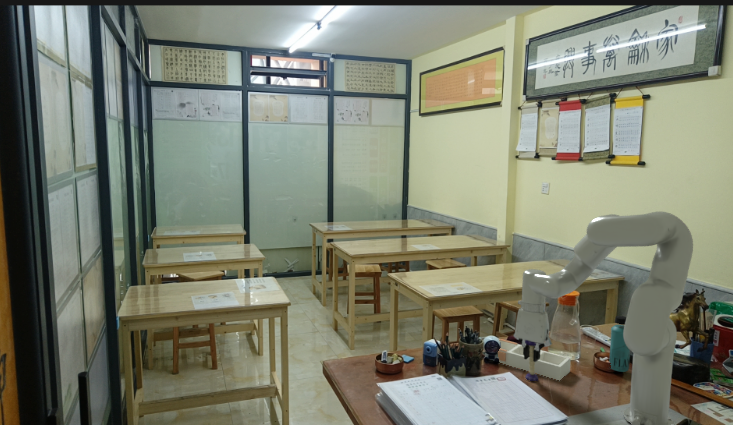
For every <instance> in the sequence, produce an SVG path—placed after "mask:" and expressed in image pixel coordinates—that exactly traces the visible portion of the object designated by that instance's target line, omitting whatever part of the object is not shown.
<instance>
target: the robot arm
mask: <svg viewBox="0 0 733 425" xmlns="http://www.w3.org/2000/svg"><path fill="white" fill-rule="evenodd" d="M655 245H656V250H655V254H654V255H653V259H652V260H651V261H652V263H651V266H650V267H651V268H650V270H649V271H650V272H649V273H648V274H649V275H648V277H647V280H646V281H644V282H643V283H641V284H639V285H638V286H637V287H636V288H635V290H634V291H633V292H632V295H631V298H630V301H629V302H630V303H629V307H628V310H627V314H626V317H627V318H626V322H625V325H624V333H623V336H624V341H625V343H626V345H627V347H628V348H629V349H630V352H632V353H633V355H632V368H631V381H630V382H631V383H630V397H629V398H630V399H629V400H630V401H629V407H626V408H625V409H624V410H623V414H622V415H624V417H625V419H627V420H628V421H630V422H631V423H632V424H633V425H671V424H674V423H675V422H674V420H673V419H672V418H671V417H670V416H669V414H670V413H669V412H670V400H671V399H670V398H671V388H672V387H671V386H672V385H671V384H672V374H673V363H674V355H675V354H674V353H675V349H676V342H677V337H678V336H677V327H676V325H675V322H674V321H673V320H672V319H671V317H670V316H671V315H672V314H671V313H672V312H674V311H675V310H677V309H678V307H680V306H681V303H682V301H683V296H684V291H685V287H686V283H687V280H688V276H689V275H688V274H689V271H690V270H689V269H690V265H691V262H692V261H691V260H692V258H693V251H694V239H693V235H692V233H691V230H690V229H689V227H688V225H687V224H686V223H685V222H684V221H683V220H682V219H680V218H679V217H678V216H676V215H674V214H673V213H669V212H667V211H653V212H648V213H645V214H644V213H643V214H633V215H632V214H631V215H619V214H612V213H611V214H605V215H599V216H597V217H595V218H593V219H592V220H590V222H589V223H588V225H587V226H586V234H585V235H584V236H582V238H581V239H580V240H579V241H578V242H577V243H576V244H575V245H574V247H573V251H574V255H573V257H572V259H571V260H570V261H569V263H566V265H565V266H564V267H563V268H562V269H561V270H559V271H557V272H554V273H550V274H547V273H546V272H545V271H544V270H540V269H533V268H532V269H530V268H529V269H526V270H525V269H524V271H523V273H522V282H521V283H522V287H521V288H522V289H521V299H520V300H518V301H517V304H518V305H520V308H519V309H518V312H517V316H516V321H515V322H516V323H515V332H514V333H513V337H514V339H516V340H518V342H519V343H520V345H522V347H523V355H524V359H527V358H529V357H530V356H529V353H530V351H529V349H530V347H529V345H527V344H526V343H525V340H527V341H531V342H535V343H536V346H535V350H534V354H533V361H534V362H536V361H538V360H539V359H540V350H542V349H543V348H546V347H550V346H551V345H552V340H551V338H550V324H549V317H548V316H549V315H548V311H546V300H547V298H548V299H554V300H555V299H559V298H561V297H563V296H565V295H569V294H571V293H573V292H574V291H576V289H578V288H579V287H580V286H581V285H582V284H583V283H584V282H585V281H586V280H588V278H589V277H590V276H591V275H592V273H594V271H595V270H596V269H597V267H598V266H599V265H600V264H601V262H603V261H604V260H605V259H606V258H607V257H608V256H610V254H611V253H612V252H614V250H616V249H617V248H622V247H624V248H625V247H628V248H629V247H636V248H637V247H650V246H651V247H652V246H655ZM624 417H623V418H624ZM625 419H624V420H625Z"/></svg>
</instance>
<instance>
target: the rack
mask: <svg viewBox="0 0 733 425" xmlns="http://www.w3.org/2000/svg"><path fill="white" fill-rule="evenodd" d="M498 339H499V341H500V342H501V348H500V349H499V351H498V357H499V362H500V363H503V364H502V365H504V364H506V365H505V366H507V365H509V366H508V367H510V366H512V367H511V368H514V367H516V368H515V369H517V368H520V369H519V370H521V369H523V370H522V371H524V370H526V371H525V372H527V371H529V370H530V369H529V366H530V364H529V361H530V360H529V358H527V359H524V355H523V347H522V344H519V343H517V342H514V341H510V340H507V339H502V338H498ZM534 349H535V348H534ZM571 361H572V360H571V357H568V356H565V355H561V354H556V353H553V352H549V351H545V350H542V349H540V359H539V360H538V361H536V362H535V365H534V366H535V369H534V371H535V373H537V374H540V375H539V376H541V375H543V376H542V377H544V376H546V377H545V378H547V377H549V378H548V379H551V378H553V379H552V380H554V379H556V380H555V381H557V380H559V381H558V382H561V381H562V380H563V379H564V378H565V377H566V376H567V375H568V374H569V373H570V372H571ZM500 363H499V364H500ZM537 374H536V375H537ZM564 376H565V377H564ZM563 377H564V378H563ZM562 378H563V379H562ZM561 379H562V380H561ZM560 380H561V381H560Z"/></svg>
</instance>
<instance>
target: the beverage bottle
mask: <svg viewBox="0 0 733 425" xmlns="http://www.w3.org/2000/svg"><path fill="white" fill-rule="evenodd" d="M626 318H627V316H623V315H616V316H615V319H614V323H615V325H613V326H612V327H611V329H610V348H609V355H608V356H609V360H608V361H609V362H610V363H611V364H610V365H611V368H610V369H611V370H613V371H616V372H621V373H624V372H628V371H629V369H630V364H631V360H630V359H631V350H630V349H629V348H628V347H627V345H626V343H625V341H624V336H623V333H624V326H625V322H626ZM609 362H608V363H609Z"/></svg>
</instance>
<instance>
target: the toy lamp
mask: <svg viewBox="0 0 733 425" xmlns="http://www.w3.org/2000/svg"><path fill="white" fill-rule="evenodd" d="M525 343H526V344H527V345H529V347H530V349H529V351H530V353H529V356H530V357H529V360H530V361H529V364H530V366H529V369H530V370H529V372H527V373H526V374H525V378H526V379H527V380H530V381H537V382H539V376H538V375H537V374H535V371H534V369H535V366H534V365H535V362H534V361H533V354H534V350H535V349H534V348H535V346H536V343H535V342H531V341H527V340H525ZM526 379H525V380H526ZM527 380H526V381H527ZM530 381H529V382H530Z"/></svg>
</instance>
